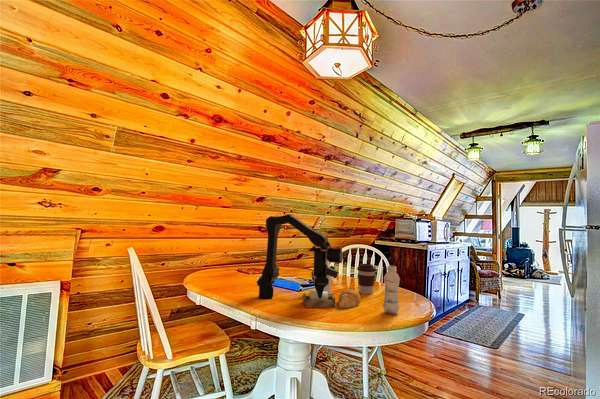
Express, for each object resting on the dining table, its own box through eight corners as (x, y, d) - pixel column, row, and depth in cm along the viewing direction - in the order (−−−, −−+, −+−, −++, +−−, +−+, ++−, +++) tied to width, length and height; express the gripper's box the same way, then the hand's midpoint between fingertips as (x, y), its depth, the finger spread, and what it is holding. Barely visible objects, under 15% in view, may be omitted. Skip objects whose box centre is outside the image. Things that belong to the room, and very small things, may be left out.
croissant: (346, 318, 140) (354, 303, 138) (327, 304, 144) (335, 289, 143) (362, 306, 158) (370, 292, 156) (345, 293, 163) (352, 280, 161)
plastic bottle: (380, 310, 141) (381, 264, 142) (395, 310, 141) (396, 265, 142) (385, 315, 134) (386, 267, 135) (401, 315, 135) (402, 267, 136)
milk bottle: (330, 295, 164) (331, 256, 165) (315, 294, 166) (316, 255, 166) (332, 292, 172) (333, 254, 172) (317, 291, 173) (318, 253, 174)
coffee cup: (354, 293, 170) (355, 265, 171) (358, 289, 179) (359, 262, 180) (373, 296, 166) (374, 266, 167) (376, 291, 175) (377, 264, 176)
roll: (309, 303, 145) (310, 292, 145) (309, 300, 150) (309, 289, 150) (328, 304, 145) (328, 292, 145) (326, 301, 150) (327, 290, 150)
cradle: (303, 306, 143) (304, 297, 143) (302, 301, 151) (303, 293, 151) (335, 307, 144) (335, 298, 144) (332, 302, 152) (332, 293, 152)
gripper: (340, 265, 139) (339, 301, 139) (334, 258, 158) (333, 291, 157) (315, 264, 139) (314, 301, 138) (311, 258, 157) (310, 290, 157)
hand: (318, 295), depth 148 cm, fingers open, 9 cm apart
